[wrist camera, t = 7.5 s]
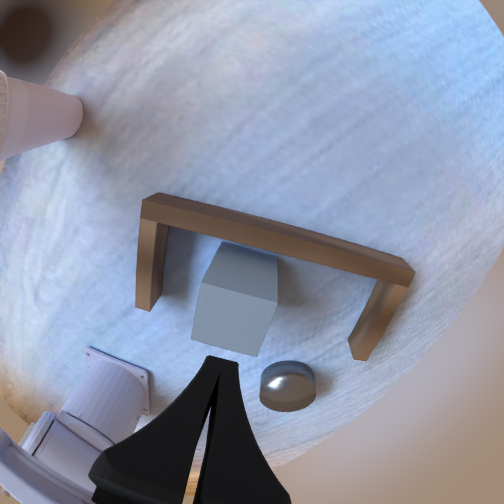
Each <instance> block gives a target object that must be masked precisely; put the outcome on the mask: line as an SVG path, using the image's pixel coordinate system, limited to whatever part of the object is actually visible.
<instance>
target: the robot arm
mask: <svg viewBox="0 0 504 504" xmlns="http://www.w3.org/2000/svg"><path fill="white" fill-rule="evenodd" d="M84 351H85V355H86V359H87V363H88V367H89V368H88V370H87V371H86V373H85V374H84V376H83V377H82V379H81V380H80V381H79V383H78V384H77V386H76V387H75V389H74V390H73V392H72V393H71V395H70V396H69V398H68V399H67V401H66V403H65V404H64V406H63V407H62V409H61V410H60V411H59V412H58V413H57V414H56V415H55V413H54V412H53V411H44V413H43V414H42V416H41V417H40V419H39V420H38V422H37V423H36V425H35V426H34V428H33V429H32V431H31V433H30V434H29V436H28V437H27V439H26V441H25V442H24V444H23V446H22V448H21V447H20V446H19V445H17V444H16V443H15V442H14V441H13V440H12V439H11V438H10V437H9V436H8V434H7V433H6V432H4V430H2V429H1V428H0V485H1V486H2V487H3V488H4V489H5V490H6V491H8V492H9V493H10V494H11V495H12V496H13V497H14V498H16V499H17V500H18V501H19V502H20V503H21V504H182V502H183V498H184V494H185V490H186V486H187V482H188V478H189V474H190V469H191V465H192V461H193V457H194V453H195V450H196V446H197V443H198V440H199V438H200V435H201V432H202V429H203V427H204V424H205V421H206V418H207V415H208V413H209V410H210V407H211V410H210V418H209V425H208V433H207V441H206V448H205V454H204V458H203V462H202V467H201V471H200V475H199V479H198V484H197V488H196V492H195V496H194V501H193V504H291V500H290V496H289V494H288V492H287V491H286V490H285V489H284V487H283V486H282V485H281V483H280V482H279V481H278V479H277V478H276V476H275V475H274V473H273V472H272V470H271V468H270V467H269V465H268V463H267V461H266V460H265V458H264V456H263V454H262V452H261V450H260V448H259V446H258V444H257V442H256V440H255V437H254V435H253V432H252V430H251V427H250V424H249V421H248V418H247V415H246V411H245V407H244V403H243V399H242V394H241V389H240V382H239V370H238V367H239V364H238V363H237V362H234V361H230V360H226V359H222V358H218V357H214V356H210V355H209V356H207V357H206V359H205V361H204V363H203V365H202V366H201V368H200V370H199V371H198V373H197V374H196V376H195V377H194V378H193V380H192V381H191V382H190V383H189V385H188V386H187V387H186V388H185V390H184V391H183V392H182V393H181V394H180V395H179V396H178V397H177V398H176V399H175V401H174V402H173V403H172V404H171V405H169V406H168V407H167V408H166V409H165V410H164V411H163V412H162V413H161V414H160V415H158V416H157V417H156V418H155V419H153V420H152V421H151V422H150V423H148V424H147V425H146V426H144V427H143V428H142V429H140V430H138V431H137V432H135V433H134V431H135V428H136V426H137V424H138V421H139V419H140V417H141V414H144V415H147V416H148V415H150V402H149V383H148V372H147V371H146V370H144V369H142V368H139V367H136V366H133V365H131V364H128V363H126V362H123V361H121V360H118V359H116V358H113V357H111V356H109V355H106V354H104V353H102V352H99V351H97V350H95V349H93V348H91V347H88V346H86V347H85V348H84ZM133 433H134V434H133Z"/></svg>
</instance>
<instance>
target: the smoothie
mask: <svg viewBox="0 0 504 504" xmlns="http://www.w3.org/2000/svg"><path fill="white" fill-rule="evenodd" d="M82 119H83V105H82V103H81V101H80V99H79V98H77V97H76V96H73V95H70V94H66V93H63V92H60V91H57V90H54V89H50V88H47V87H44V86H40V85H36V84H33V83H29V82H25V81H21V80H18V79H14V78H10V77H7V76H6V74H5V73H4V72H3V71H1V70H0V161H2V160H4V159H7V158H9V157H11V156H14V155H17V154H19V153H22V152H25V151H28V150H31V149H34V148H37V147H40V146H43V145H46V144H50V143H53V142H56V141H60V140H64V139H67V138H70V137H72V136H73V135H74V134H75V133H76V132H77V130H78V129H79V127H80V125H81V122H82Z"/></svg>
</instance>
